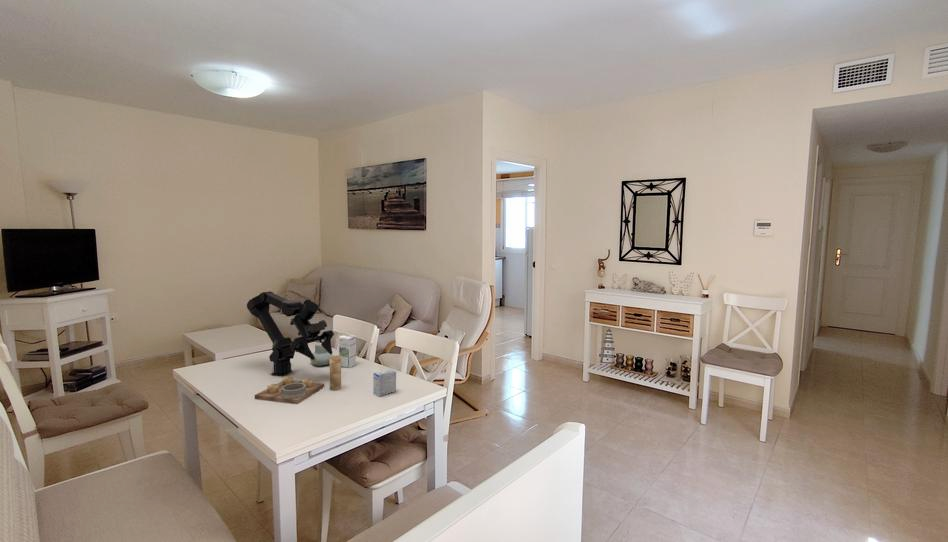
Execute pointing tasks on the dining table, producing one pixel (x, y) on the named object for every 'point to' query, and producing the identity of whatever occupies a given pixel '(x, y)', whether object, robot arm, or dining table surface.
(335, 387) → the stool leg
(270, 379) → the dining table surface
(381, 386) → the medicine box
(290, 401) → the stool seat
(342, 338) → the syrup box
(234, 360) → the dining table surface
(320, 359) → the air freshener
